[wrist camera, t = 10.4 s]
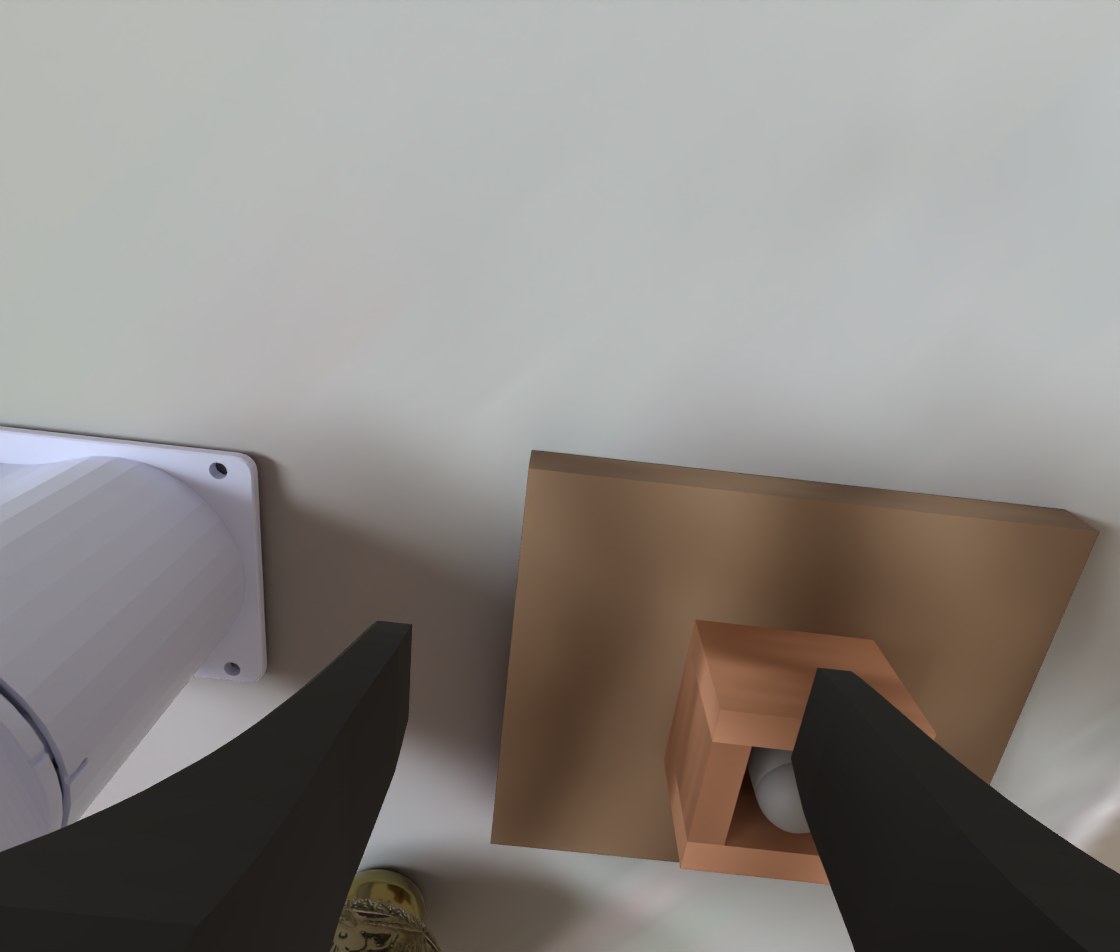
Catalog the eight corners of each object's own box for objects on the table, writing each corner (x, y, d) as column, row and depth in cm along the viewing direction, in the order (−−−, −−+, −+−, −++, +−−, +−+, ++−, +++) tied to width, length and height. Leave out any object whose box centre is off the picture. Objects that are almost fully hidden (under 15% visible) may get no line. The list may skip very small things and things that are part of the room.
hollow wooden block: (663, 760, 23) (680, 868, 19) (695, 619, 21) (720, 709, 17) (827, 778, 23) (874, 889, 20) (873, 640, 21) (936, 734, 18)
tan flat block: (495, 808, 26) (473, 975, 20) (531, 450, 21) (515, 542, 15) (924, 852, 26) (1018, 1028, 21) (1065, 509, 21) (1238, 621, 16)
